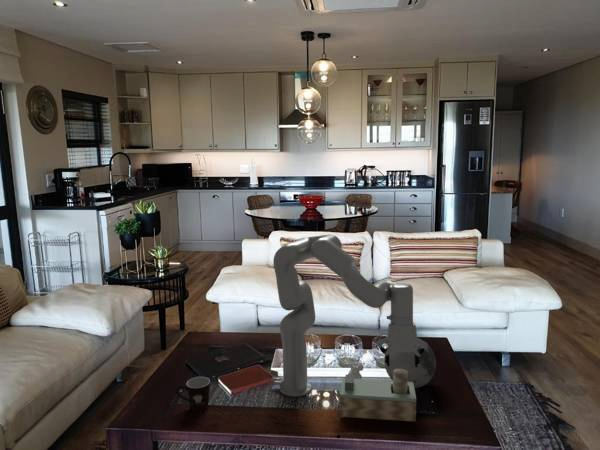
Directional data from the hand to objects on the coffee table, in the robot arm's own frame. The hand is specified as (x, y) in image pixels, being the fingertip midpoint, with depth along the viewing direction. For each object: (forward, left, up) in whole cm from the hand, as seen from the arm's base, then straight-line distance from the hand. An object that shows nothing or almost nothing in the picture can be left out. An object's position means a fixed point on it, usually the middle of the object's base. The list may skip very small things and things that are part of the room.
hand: (402, 365), depth 167 cm
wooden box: (-8, 0, -19) cm, 20 cm away
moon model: (+5, +21, -19) cm, 29 cm away
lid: (-8, 0, -10) cm, 13 cm away
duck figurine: (-17, +18, -19) cm, 32 cm away
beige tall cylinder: (0, 0, -18) cm, 18 cm away
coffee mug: (-75, -4, -19) cm, 78 cm away
